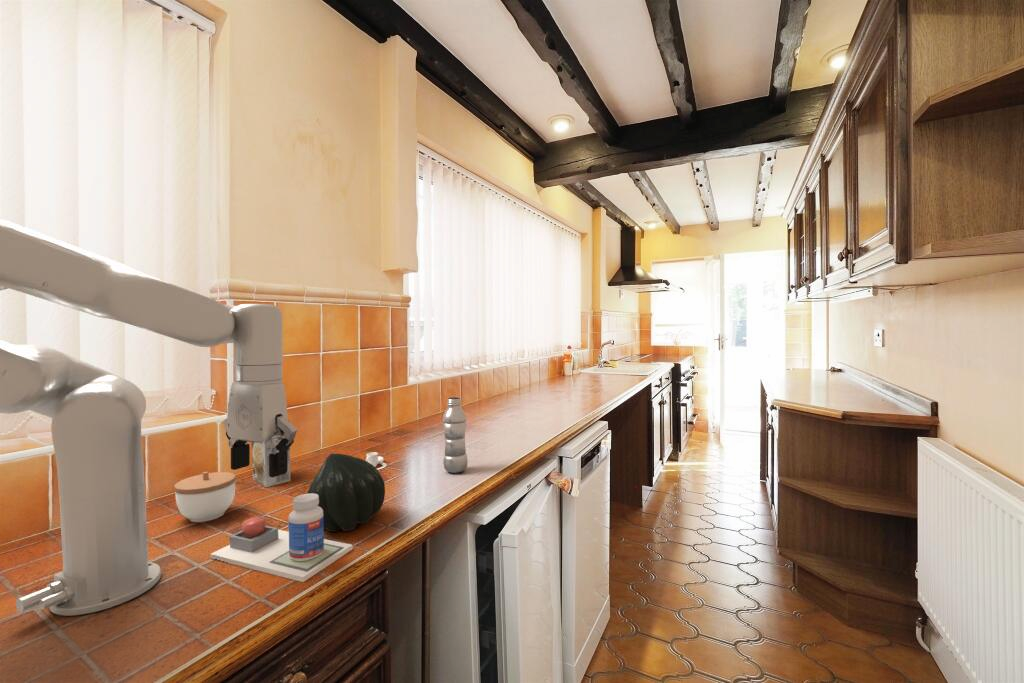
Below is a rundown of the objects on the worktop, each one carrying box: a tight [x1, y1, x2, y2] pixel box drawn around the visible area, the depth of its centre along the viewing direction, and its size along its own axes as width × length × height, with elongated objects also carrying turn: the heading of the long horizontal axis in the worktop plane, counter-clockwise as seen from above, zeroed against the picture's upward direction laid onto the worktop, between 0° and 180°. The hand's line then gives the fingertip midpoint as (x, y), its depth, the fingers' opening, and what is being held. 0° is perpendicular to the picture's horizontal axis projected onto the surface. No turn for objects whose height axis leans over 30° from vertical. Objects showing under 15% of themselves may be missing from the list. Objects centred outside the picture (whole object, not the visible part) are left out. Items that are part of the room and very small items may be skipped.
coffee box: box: [251, 419, 291, 488], centre depth 117 cm, size 9×6×16 cm
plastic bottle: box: [442, 396, 469, 474], centre depth 122 cm, size 6×7×20 cm
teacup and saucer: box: [365, 451, 388, 471], centre depth 129 cm, size 9×8×4 cm
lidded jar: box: [173, 471, 237, 523], centre depth 96 cm, size 11×11×9 cm
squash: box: [306, 452, 386, 532], centre depth 91 cm, size 14×15×15 cm
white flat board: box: [210, 525, 354, 583], centre depth 79 cm, size 11×21×3 cm, turn 68°
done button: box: [241, 516, 267, 537], centre depth 81 cm, size 4×4×2 cm
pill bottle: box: [288, 493, 325, 561], centre depth 77 cm, size 6×5×10 cm
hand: (258, 471), depth 80 cm, fingers open, 9 cm apart
